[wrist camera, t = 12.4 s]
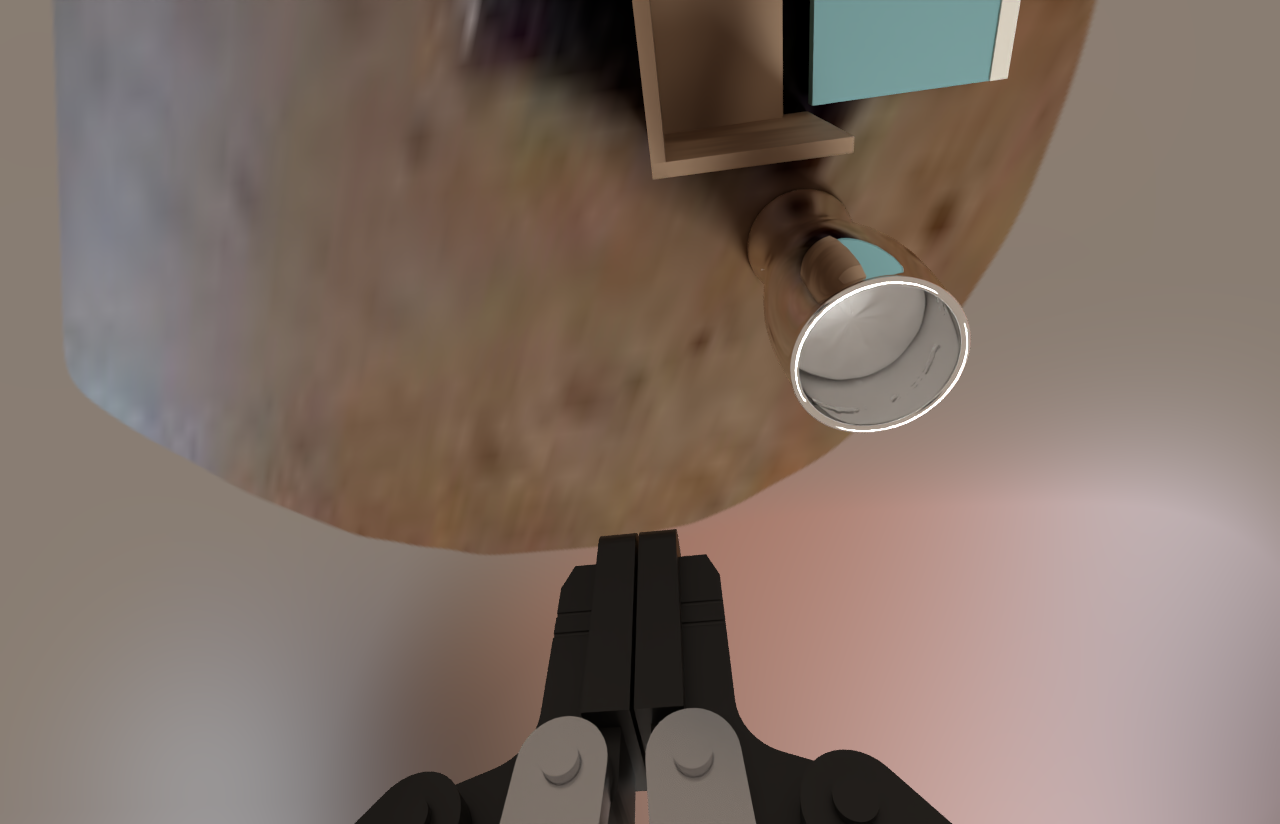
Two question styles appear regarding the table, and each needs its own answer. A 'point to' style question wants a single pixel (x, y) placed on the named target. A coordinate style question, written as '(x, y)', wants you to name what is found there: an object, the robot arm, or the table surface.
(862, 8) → the teal panel
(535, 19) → the table surface
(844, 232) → the beer glass
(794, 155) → the crate
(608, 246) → the table surface
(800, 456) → the table surface
